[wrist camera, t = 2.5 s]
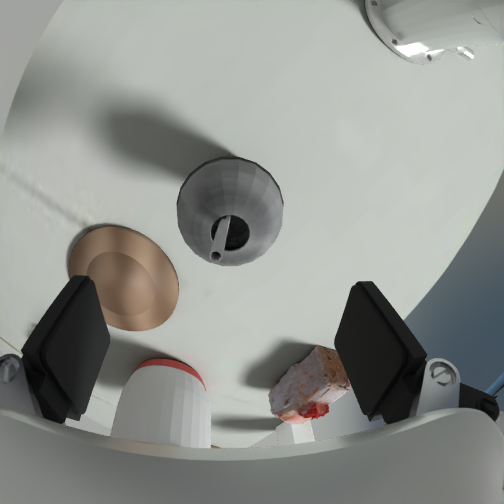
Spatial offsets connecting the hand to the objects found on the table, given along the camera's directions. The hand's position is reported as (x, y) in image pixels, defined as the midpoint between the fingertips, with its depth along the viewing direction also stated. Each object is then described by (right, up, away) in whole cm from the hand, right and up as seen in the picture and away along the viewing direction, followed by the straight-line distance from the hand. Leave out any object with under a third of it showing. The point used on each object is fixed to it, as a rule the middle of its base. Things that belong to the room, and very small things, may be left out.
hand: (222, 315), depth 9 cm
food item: (+10, -19, +35) cm, 41 cm away
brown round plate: (-16, -2, +24) cm, 29 cm away
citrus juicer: (-14, -20, +34) cm, 42 cm away
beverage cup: (-1, +10, +19) cm, 22 cm away
